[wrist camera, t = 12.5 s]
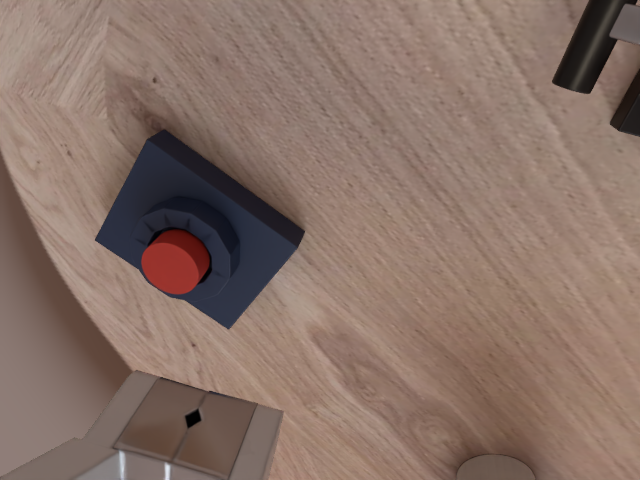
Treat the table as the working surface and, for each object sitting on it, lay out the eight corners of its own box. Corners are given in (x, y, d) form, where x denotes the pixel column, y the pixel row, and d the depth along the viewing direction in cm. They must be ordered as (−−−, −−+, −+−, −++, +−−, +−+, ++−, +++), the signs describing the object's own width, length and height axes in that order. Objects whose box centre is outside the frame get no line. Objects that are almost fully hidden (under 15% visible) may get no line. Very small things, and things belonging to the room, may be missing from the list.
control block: (112, 225, 34) (77, 253, 31) (164, 128, 30) (130, 148, 26) (238, 311, 36) (219, 346, 32) (305, 231, 31) (291, 262, 28)
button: (146, 256, 30) (131, 271, 29) (170, 217, 28) (156, 231, 27) (193, 288, 31) (182, 304, 29) (220, 252, 29) (209, 267, 27)
